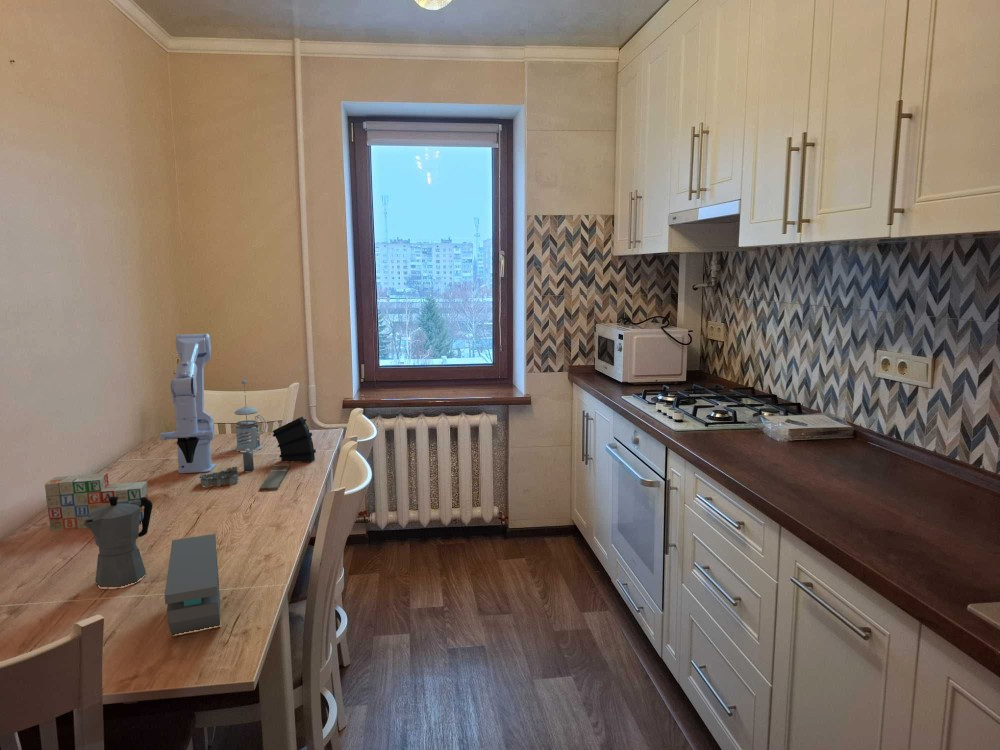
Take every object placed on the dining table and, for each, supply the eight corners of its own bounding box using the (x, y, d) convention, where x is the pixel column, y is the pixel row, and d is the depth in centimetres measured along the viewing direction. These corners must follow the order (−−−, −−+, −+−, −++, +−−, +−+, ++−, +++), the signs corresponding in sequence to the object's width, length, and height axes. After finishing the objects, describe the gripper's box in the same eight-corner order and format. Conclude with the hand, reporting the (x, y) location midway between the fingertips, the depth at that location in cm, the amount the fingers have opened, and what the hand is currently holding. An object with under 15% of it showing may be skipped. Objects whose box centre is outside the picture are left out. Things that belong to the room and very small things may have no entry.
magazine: (320, 458, 223) (299, 417, 222) (287, 473, 225) (266, 433, 224) (324, 455, 227) (304, 415, 225) (291, 470, 229) (271, 431, 228)
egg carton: (240, 478, 208) (239, 465, 207) (237, 486, 201) (236, 472, 200) (202, 481, 205) (201, 468, 205) (198, 489, 198) (197, 475, 197)
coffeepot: (109, 598, 131) (99, 510, 128) (75, 590, 135) (65, 504, 132) (173, 566, 145) (166, 486, 143) (141, 559, 149) (133, 481, 146)
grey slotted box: (176, 592, 134) (172, 540, 132) (219, 584, 137) (215, 533, 135) (170, 657, 111) (164, 595, 109) (221, 646, 114) (216, 586, 112)
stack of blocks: (150, 515, 177) (146, 469, 175) (143, 523, 171) (139, 476, 169) (59, 522, 172) (54, 476, 170) (49, 531, 166) (43, 483, 164)
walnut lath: (259, 490, 195) (259, 487, 195) (274, 467, 219) (274, 464, 218) (277, 489, 196) (277, 486, 196) (290, 466, 219) (290, 463, 219)
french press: (243, 444, 248) (238, 377, 244) (272, 445, 246) (268, 378, 242) (228, 451, 238) (223, 382, 234) (259, 452, 237) (255, 382, 233)
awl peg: (243, 472, 214) (241, 450, 213) (245, 469, 217) (243, 448, 216) (252, 471, 214) (251, 450, 213) (254, 468, 217) (253, 447, 216)
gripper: (155, 421, 194) (159, 467, 196) (208, 419, 196) (211, 464, 198) (163, 416, 200) (167, 460, 202) (214, 414, 203) (218, 458, 205)
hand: (189, 462), depth 201 cm, fingers closed
